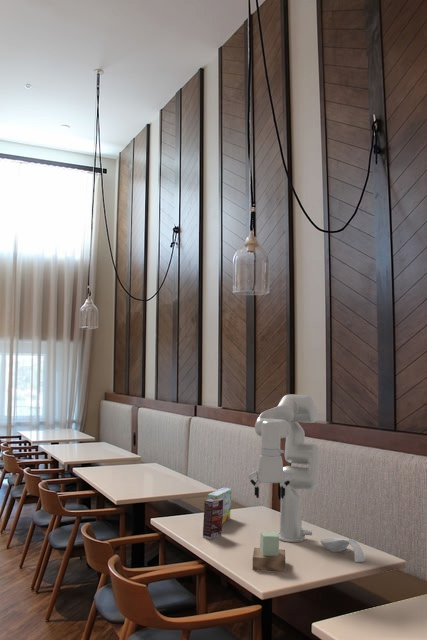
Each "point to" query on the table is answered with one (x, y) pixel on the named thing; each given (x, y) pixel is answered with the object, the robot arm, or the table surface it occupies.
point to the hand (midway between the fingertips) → (269, 497)
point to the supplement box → (213, 518)
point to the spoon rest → (343, 547)
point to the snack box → (226, 496)
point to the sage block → (269, 544)
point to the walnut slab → (268, 561)
